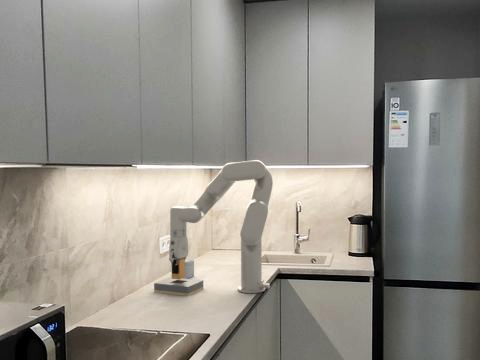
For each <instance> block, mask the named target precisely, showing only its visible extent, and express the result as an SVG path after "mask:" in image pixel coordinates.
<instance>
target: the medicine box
mask: <svg viewBox="0 0 480 360" xmlns="http://www.w3.org/2000/svg"><path fill="white" fill-rule="evenodd" d="M193 276H195V261H194V260H192V259H185V279H191V278H194V277H193Z"/></svg>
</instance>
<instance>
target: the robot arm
mask: <svg viewBox="0 0 480 360" xmlns="http://www.w3.org/2000/svg"><path fill="white" fill-rule="evenodd" d="M250 180H252V181H253V188H252V192H251V197H250V200H249V202H248V204H247V207H246V211H245V215H244V217H243V222H242V226H241V228H240V285H239V286H237V291H238V292H239V293H245V294H259V293H263V292H265V291H266V289H270V288H271V284H270V283H269V282H268V283H265V282H264V281H265V280H264V279H263V278H262V277H263V276H262V273H263V272H262V269H263V267H262V264H263V263H262V256H263V255H262V252H263V251H262V248H263V247H262V237H263V233H264V230H265V226H266V222H267V218H268V215H269V209H268V208H269V204H270V199H271V194H272V190H273V183H274V182H273V176H272V173H271V171H270V170H269V168H268V167H267V166H266V165H265V164H264V162H262V161H261V160H258V159H254V160H245V161H237V162H235V161H233V162H228V163H226V164H224V165H223V166H222V168H221V170H220V171H218V173H217V175H216V176H215V177H214V178H213V179H212V180H211V181H210V182H209V183H208V184H207V186H206V187H205V189H204V191H203V193H202V194H201V195H200V197H199V198H198V199H197V200H196V201H195V203H194V204H192V206H189V207H185V206H172V207H171V208H170V209H169V211H170V212H169V214H170V216H169V217H170V222H169V225H170V227H169V231H170V232H169V234H170V235H169V237H170V238H169V249H168V251H169V252H168V256H169V259H168V260H169V262H170V263H171V274H172V273H173V274H178V273H179V265H178V259H181V258H184V257H185V260H187V259H186V258H187V257H188V256H189V242H188V240H189V239H188V236H187V235H188V233H187V231H188V230H187V228H188V227H187V223H189V224H197V223H199V222H200V221H201V220H203V218H204V217H205V216H206V215H207V214H208V212H209V211H211V209H212V208H213V207H214V206H215V204H217V203H218V202H219V201H220V200H221V199H222V198H223V197H224V196H225V194H226V193H227V192H228V191H229V190H230V189H231V187H232V186H233V185H234V184H235V183H236V182H241V181H242V182H244V181H250ZM174 257H175V258H174ZM174 259H175V260H176V261H175V260H174Z"/></svg>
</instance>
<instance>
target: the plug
mask: <svg viewBox="0 0 480 360" xmlns="http://www.w3.org/2000/svg"><path fill="white" fill-rule="evenodd" d="M174 258H175V257H174ZM174 260H175V259H174ZM185 260H186V259H185V257H184V258H181V259H178V265H179V273H178V274H173V273H172V272H171V277H172V279H179V280H180V279H183V278H185ZM175 261H176V260H175Z"/></svg>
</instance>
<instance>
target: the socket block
mask: <svg viewBox="0 0 480 360" xmlns="http://www.w3.org/2000/svg"><path fill="white" fill-rule="evenodd" d="M153 286H154V287H153V288H154V289H153V291H154V293H160V294H170V295H176V296H178V295H179V296H191V295H193V294H196V293H198V292H199V290H200V291H202V290H204V279H195V278H194V279H193V278H187V279H185V278H183V279H180V280H179V279H172V276H169V277H167V278H165V279H162V280H159V281H157V282H153ZM197 291H198V292H197Z"/></svg>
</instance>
